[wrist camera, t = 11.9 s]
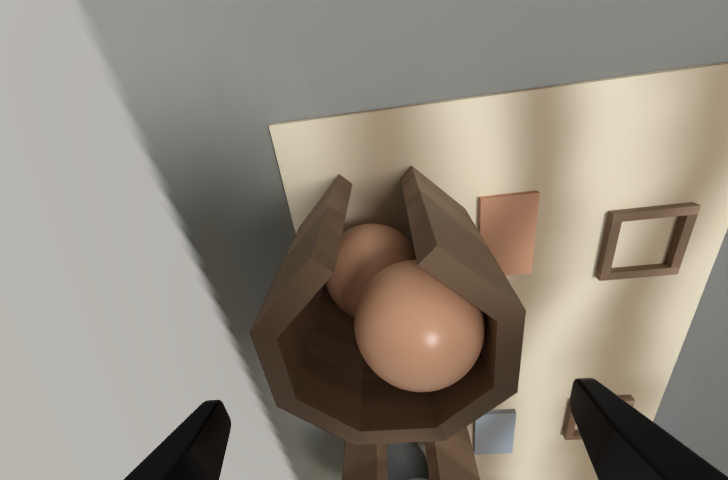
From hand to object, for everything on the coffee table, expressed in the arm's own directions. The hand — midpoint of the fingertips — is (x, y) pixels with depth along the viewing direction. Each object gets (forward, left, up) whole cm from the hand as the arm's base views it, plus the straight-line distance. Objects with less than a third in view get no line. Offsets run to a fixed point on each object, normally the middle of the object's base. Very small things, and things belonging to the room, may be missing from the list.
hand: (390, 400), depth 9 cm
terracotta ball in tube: (0, 0, -8) cm, 8 cm away
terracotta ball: (+1, 0, -4) cm, 4 cm away
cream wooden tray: (-6, +7, -9) cm, 13 cm away
